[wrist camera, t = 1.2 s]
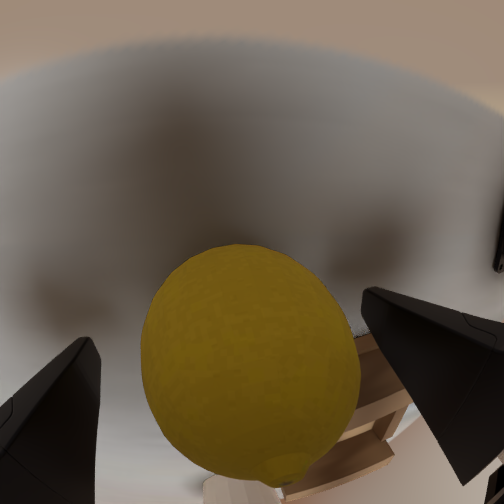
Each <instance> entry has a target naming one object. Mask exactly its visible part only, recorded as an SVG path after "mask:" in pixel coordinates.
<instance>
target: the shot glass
mask: <svg viewBox="0 0 504 504" xmlns="http://www.w3.org/2000/svg"><path fill="white" fill-rule="evenodd" d="M203 501H204V504H281V502H280V499H279V497H278V495H277V493H276V491H275V488H271V487H269V486H267V485H265V484H263V483H261V482H260V481H249V480H238V479H232V478H228V477H224V476H221V475H218V474H217V475H214V476H212V477H210V478H208V479H206V480H205V482H204V483H203Z"/></svg>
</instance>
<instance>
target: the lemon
mask: <svg viewBox="0 0 504 504" xmlns="http://www.w3.org/2000/svg"><path fill="white" fill-rule="evenodd" d="M141 371H142V380H143V386H144V390H145V395H146V398H147V401H148V404H149V407H150V409H151V411H152V413H153V415H154V417H155V419H156V421H157V423H158V425H159V427H160V429H161V431H162V433H163V434H164V436H165V437H166V438H167V440H168V441H169V442H170V443H171V444H172V445H173V446H174V447H175V448H176V449H177V450H178V451H179V452H180V453H182V454H183V455H184V456H185V457H187V458H188V459H189V460H190V461H192V462H193V463H195V464H197V465H198V466H200V467H202V468H204V469H206V470H208V471H211V472H213V473H215V474H218V475H221V476H224V477H228V478H232V479H238V480H249V481H260V482H261V483H263V484H265V485H267V486H269V487H271V488H280V487H286V486H289V485H292V484H295V483H297V482H299V481H300V480H302V479H303V478H304V476H305V474H306V472H307V470H308V468H309V466H310V465H312V464H313V463H314V462H316V461H317V460H318V459H320V458H321V457H322V456H324V455H325V454H326V453H327V452H328V451H329V450H330V449H331V448H332V447H333V446H334V445H335V444H336V442H337V441H338V440H339V439H340V437H341V436H342V435H343V433H344V431H345V429H346V427H347V426H348V424H349V422H350V420H351V418H352V416H353V414H354V412H355V408H356V405H357V402H358V397H359V390H360V381H361V369H360V361H359V357H358V353H357V350H356V346H355V342H354V338H353V335H352V332H351V329H350V326H349V324H348V321H347V319H346V317H345V315H344V313H343V311H342V309H341V308H340V306H339V304H338V303H337V302H336V300H335V299H334V298H333V296H332V295H331V294H330V292H329V291H328V290H327V289H326V287H325V286H324V285H323V283H322V282H321V281H320V280H319V279H318V278H317V277H316V276H315V275H314V274H313V273H312V272H311V271H309V270H308V269H307V268H305V267H304V266H302V265H301V264H299V263H298V262H296V261H295V260H293V259H292V258H290V257H289V256H287V255H285V254H283V253H280V252H277V251H274V250H271V249H268V248H265V247H262V246H258V245H244V244H232V245H227V246H221V247H216V248H211V249H209V250H207V251H204V252H202V253H200V254H198V255H195V256H193V257H191V258H189V259H188V260H187V261H185V262H184V263H183V264H182V265H180V266H179V267H178V268H177V269H175V270H174V271H173V272H172V273H171V274H170V275H169V276H168V278H167V279H166V280H165V282H164V283H163V285H162V286H161V287H160V289H159V290H158V291H157V293H156V294H155V296H154V298H153V300H152V303H151V305H150V308H149V311H148V314H147V317H146V320H145V323H144V326H143V330H142V335H141Z"/></svg>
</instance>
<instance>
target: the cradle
mask: <svg viewBox="0 0 504 504" xmlns="http://www.w3.org/2000/svg"><path fill="white" fill-rule="evenodd" d="M354 342H355V346H356V350H357V353H358V357H359V361H360V369H361V381H360V390H359V397H358V402H357V405H356V408H355V412H354V414H353V416H352V418H351V420H350V422H349V424H348V426H347V427H346V429H345V431H344V433H343V435H342V436H341V437H340V439H339V440H338V441H337V442H336V444H335V445H334V446H333V447H332V448H331V449H330V450H329V451H328V452H327V453H326V454H325V455H324V456H322V457H321V458H320V459H318V460H317V461H316V462H314V463H313V464H312V465H310V466H309V468H308V470H307V472H306V474H305V476H304V478H303V479H302V480H300V481H299V482H297V483H295V484H292V485H289V486H286V487H281V490H282V493H283V496H284V498H285V501H286V502H289V501H293V500H296V499H299V498H303V497H307V496H310V495H313V494H316V493H320V492H323V491H326V490H328V489H331V488H334V487H337V486H339V485H342V484H345V483H347V482H350V481H352V480H355V479H357V478H360V477H362V476H364V475H367V474H369V473H371V472H373V471H375V470H378V469H380V468H382V467H384V466H386V465H388V463H389V462H390V461H391V460H392V458H393V457H394V455H395V454H394V452H393V451H392V449H391V448H390V446H389V445H388V443H387V441H386V439H388V438H390V437H392V436H393V434H394V432H395V430H396V429H397V427H398V425H399V423H400V421H401V419H402V417H403V415H404V413H405V411H406V409H407V407H408V405H409V404H411V403H413V400H412V399H411V397H410V395H409V394H408V392H407V391H406V389H405V387H404V386H403V384H402V383H401V381H400V380H399V378H398V377H397V375H396V373H395V372H394V370H393V369H392V367H391V366H390V364H389V363H388V361H387V360H386V358H385V357H384V355H383V354H382V352H381V350H380V349H379V347H378V345H377V343H376V342H375V340H374V338H373V336H372V334H371V333H370V334H367V335H364V336H361V337H358V338H355V339H354Z"/></svg>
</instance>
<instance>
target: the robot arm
mask: <svg viewBox="0 0 504 504" xmlns="http://www.w3.org/2000/svg"><path fill="white" fill-rule="evenodd" d="M494 271H495V272H497V273H501V272H503V271H504V221H503V227H502V233H501V238H500V243H499V248H498V253H497V257H496V261H495V266H494ZM361 314H362V317H363V319H364V321H365V323H366V324H367V326H368V328H369V330H370V332H371V334H372V336H373V338H374V340H375V342H376V343H377V345H378V347H379V349H380V350H381V352H382V354H383V355H384V357H385V358H386V360H387V361H388V363H389V364H390V366H391V367H392V369H393V370H394V372H395V373H396V375H397V377H398V378H399V380H400V381H401V383H402V384H403V386H404V387H405V389H406V391H407V392H408V394H409V395H410V397H411V399H412V400H413V402H414V403H415V405H416V407H417V408H418V410H419V411H420V413H421V415H422V416H423V418H424V419H425V421H426V423H427V425H428V426H429V428H430V430H431V431H432V433H433V435H434V436H435V438H436V440H438V443H439V445H440V447H441V449H442V450H443V452H444V454H445V455H446V457H447V459H448V461H449V463H450V464H451V466H452V468H453V470H454V471H455V473H456V475H457V477H458V479H459V481H460V483H461V484H462V486H464V485H465V484H467V483H468V482H469V481H471V480H472V479H473V478H474V477H475V476H476V475H478V474H479V473H480V472H481V471H482V470H483V469H484V468H486V467H487V466H488V465H489V464H490V463H491V462H492V461H493V460H494V459H495V458H496V457H498V458H499V459H500V461H501V462H502V463H503V464H502V465H501V466H500V467H499V468H498V469H497V470H496V471H495V472H494V473H493V474H491V475H490V477H489V481H488V486H487V492H486V497H485V502H484V504H504V323H501V322H497V321H492V320H488V319H484V318H480V317H477V316H473V315H470V314H466V313H463V312H462V313H461V312H459V311H456V310H453V309H449V308H446V307H443V306H439V305H436V304H433V303H429V302H426V301H423V300H419V299H416V298H412V297H409V296H406V295H402V294H399V293H396V292H392V291H389V290H385V289H382V288H379V287H370V288H366V289H365V290H364V291H363V296H362V304H361ZM100 384H101V358H100V355H99V353H98V351H97V349H96V347H95V345H94V343H93V340H92V339H91V338H90V337H80V338H78V339H76V340H75V341H74V342H73V343H72V344H71V345H69V346H68V347H67V348H66V349H65V350H63V351H62V352H61V353H60V354H59V355H58V356H56V357H55V358H54V359H53V360H52V361H51V362H50V363H48V364H47V365H46V366H45V367H44V368H43V369H42V370H40V371H39V372H38V373H37V374H36V375H35V376H34V377H33V378H31V379H30V380H29V381H28V382H27V383H26V384H25V385H24V386H22V387H21V388H20V389H19V390H18V391H17V392H16V393H15V394H14V395H13V397H10V398H9V399H8V400H7V401H6V402H5V403H4V404H3V405H2V406H1V407H0V504H95V456H96V440H97V428H98V417H99V408H100Z"/></svg>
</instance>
